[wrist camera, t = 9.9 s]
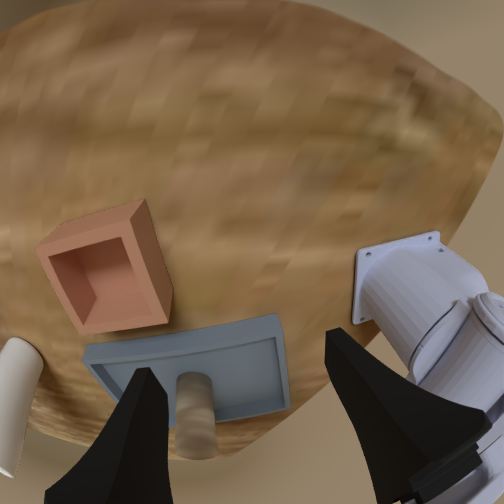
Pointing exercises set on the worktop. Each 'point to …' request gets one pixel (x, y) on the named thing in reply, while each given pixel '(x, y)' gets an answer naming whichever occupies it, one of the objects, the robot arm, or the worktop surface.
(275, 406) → the slate tray
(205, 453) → the ash peg
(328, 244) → the worktop surface
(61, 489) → the robot arm
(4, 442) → the drinking glass
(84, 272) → the salmon open box
